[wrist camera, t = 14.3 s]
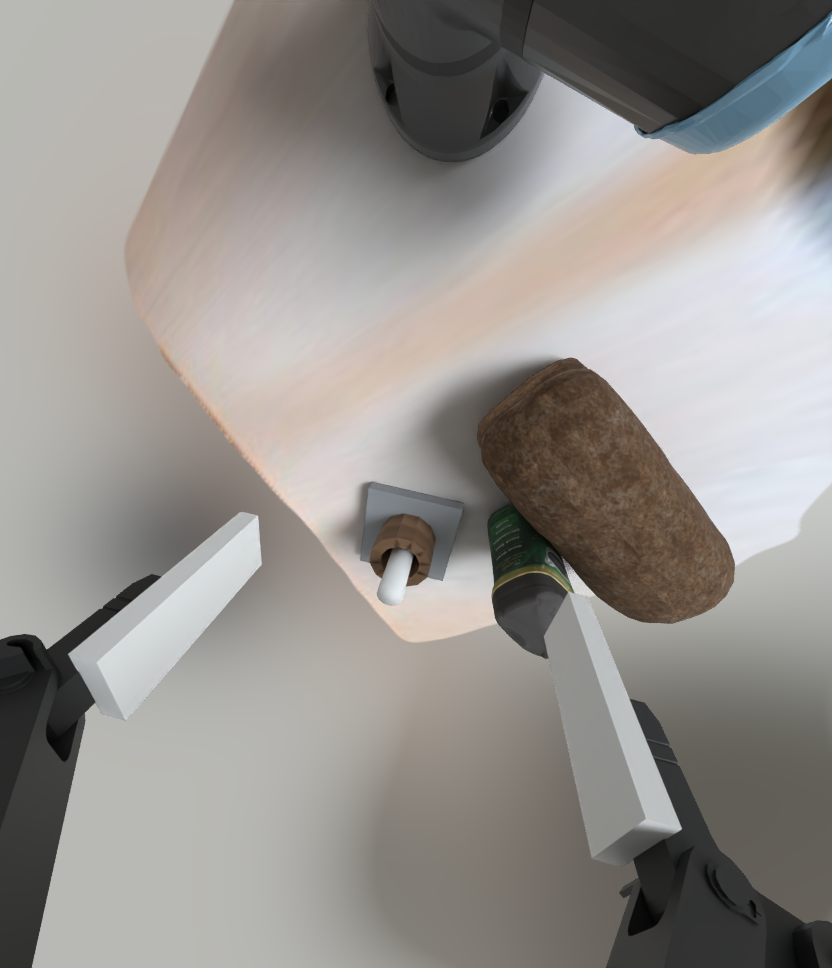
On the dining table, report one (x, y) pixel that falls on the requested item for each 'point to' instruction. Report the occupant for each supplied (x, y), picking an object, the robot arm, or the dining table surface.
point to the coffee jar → (525, 579)
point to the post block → (394, 580)
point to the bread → (605, 495)
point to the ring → (404, 545)
